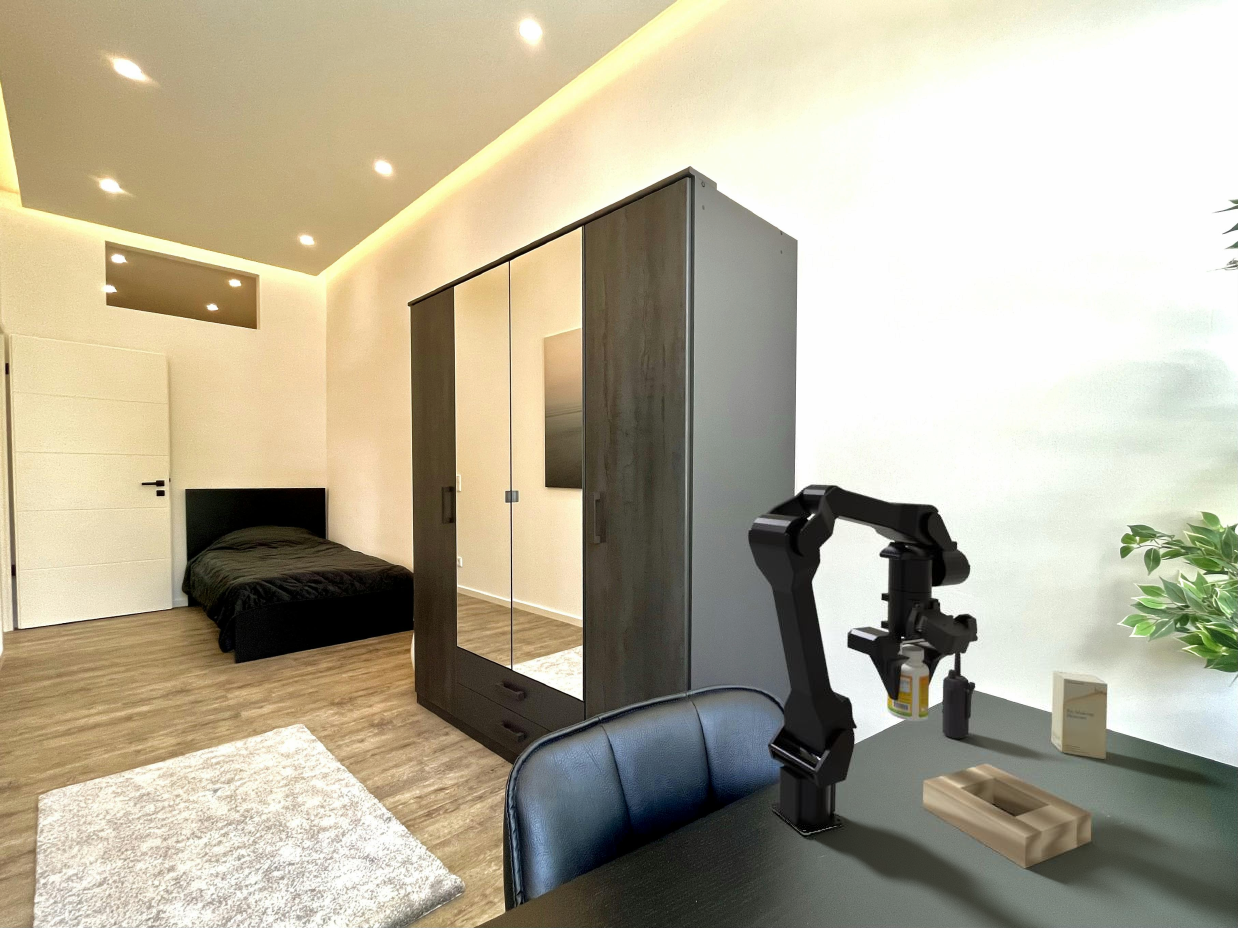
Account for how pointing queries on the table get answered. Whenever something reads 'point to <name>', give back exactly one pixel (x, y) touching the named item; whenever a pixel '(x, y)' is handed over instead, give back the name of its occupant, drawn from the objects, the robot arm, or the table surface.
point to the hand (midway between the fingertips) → (907, 696)
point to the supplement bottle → (912, 687)
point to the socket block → (1022, 839)
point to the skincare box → (1079, 714)
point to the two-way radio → (956, 702)
